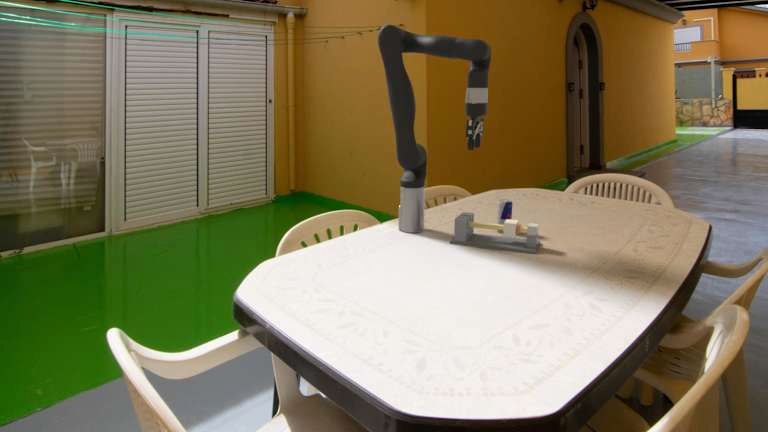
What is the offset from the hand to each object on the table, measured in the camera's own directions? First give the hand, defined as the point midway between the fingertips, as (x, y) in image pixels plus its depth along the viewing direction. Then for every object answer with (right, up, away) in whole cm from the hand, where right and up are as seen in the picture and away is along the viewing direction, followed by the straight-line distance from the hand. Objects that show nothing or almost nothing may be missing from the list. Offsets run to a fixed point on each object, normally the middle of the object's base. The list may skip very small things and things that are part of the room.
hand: (473, 148), depth 162 cm
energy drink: (+14, -30, +12) cm, 35 cm away
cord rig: (+7, -33, -2) cm, 33 cm away
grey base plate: (+7, -33, -2) cm, 34 cm away
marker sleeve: (+12, -31, -5) cm, 33 cm away
